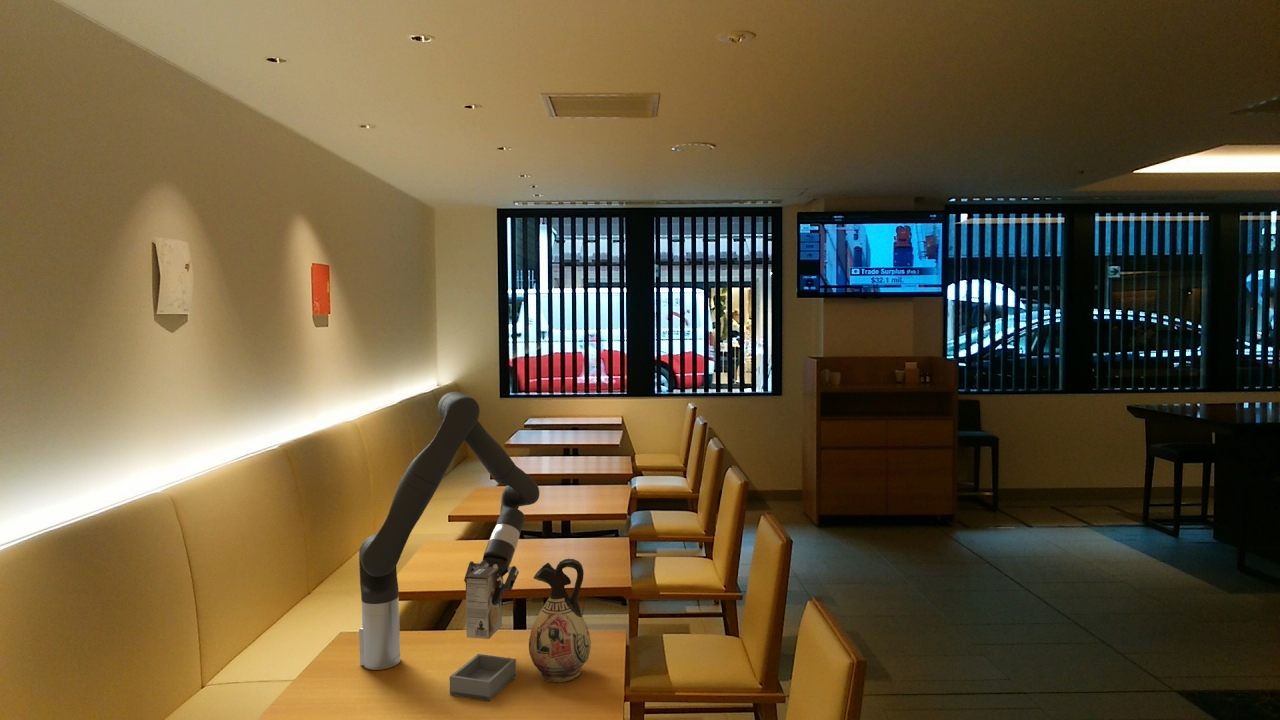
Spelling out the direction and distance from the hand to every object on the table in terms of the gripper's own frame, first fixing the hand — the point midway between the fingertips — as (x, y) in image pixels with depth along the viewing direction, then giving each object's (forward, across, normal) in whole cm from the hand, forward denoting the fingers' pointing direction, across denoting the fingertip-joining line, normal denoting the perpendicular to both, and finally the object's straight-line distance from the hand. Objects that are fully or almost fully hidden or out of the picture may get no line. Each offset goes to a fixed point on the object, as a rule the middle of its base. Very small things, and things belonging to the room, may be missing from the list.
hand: (481, 602), depth 210 cm
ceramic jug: (+11, +23, +12) cm, 28 cm away
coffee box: (+5, 0, +7) cm, 9 cm away
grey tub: (+19, +6, +4) cm, 21 cm away
